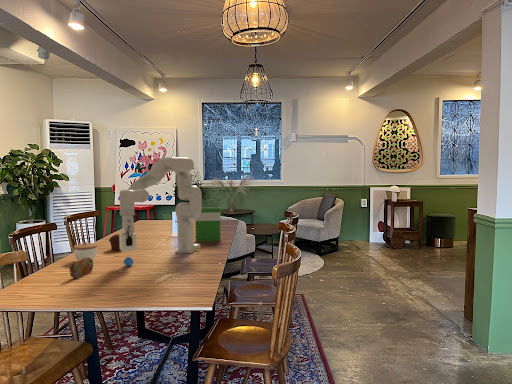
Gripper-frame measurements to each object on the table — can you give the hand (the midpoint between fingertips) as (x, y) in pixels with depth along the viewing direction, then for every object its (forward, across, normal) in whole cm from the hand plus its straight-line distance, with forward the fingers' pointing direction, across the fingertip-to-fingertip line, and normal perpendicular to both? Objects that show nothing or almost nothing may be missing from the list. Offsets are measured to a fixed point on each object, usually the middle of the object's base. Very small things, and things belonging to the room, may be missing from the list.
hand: (128, 244), depth 204 cm
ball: (+10, 0, 0) cm, 10 cm away
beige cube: (+3, 0, 0) cm, 3 cm away
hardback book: (+12, +46, -64) cm, 80 cm away
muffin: (+12, +46, -1) cm, 48 cm away
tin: (+13, -7, +24) cm, 28 cm away
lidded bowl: (+13, +25, +20) cm, 34 cm away
